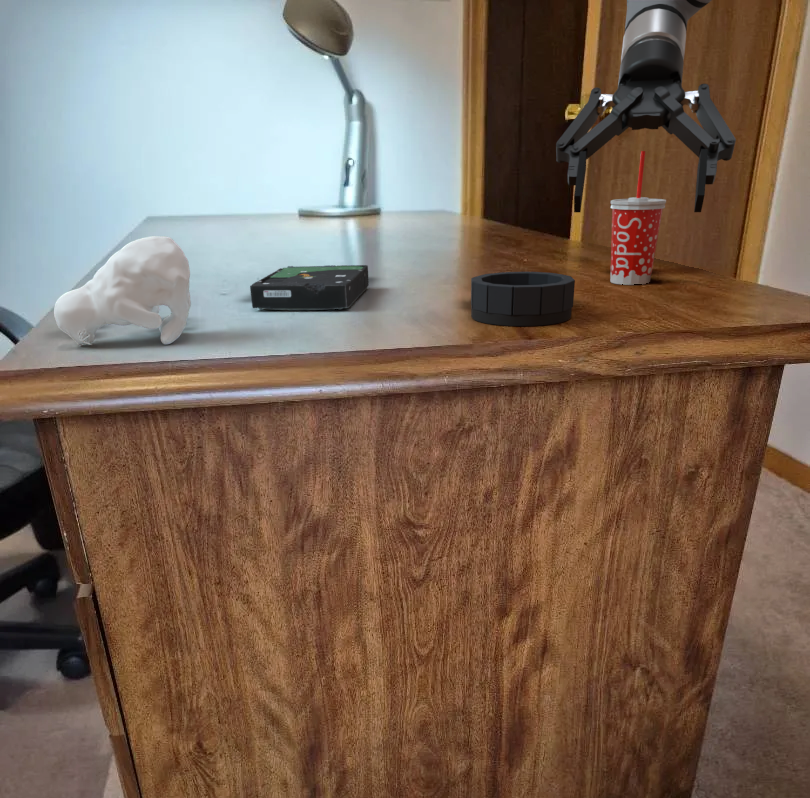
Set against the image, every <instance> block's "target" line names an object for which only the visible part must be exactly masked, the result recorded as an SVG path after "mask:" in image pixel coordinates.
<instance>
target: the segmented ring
mask: <svg viewBox="0 0 810 798" xmlns="http://www.w3.org/2000/svg"><path fill="white" fill-rule="evenodd" d="M575 285H576V279H574V278H573V277H572V276H571V275H567V274H561V273H555V272H543V271H502V272H491V273H484V274H480V275H477V276H472V277H471V278H470V309H471V311H470V317H471V319H472V320H474V321H475V322H479V323H482V324H486V325H493V326H504V327H542V326H550V325H556V324H561V323H564V322H567V321H569V320H570V319H571V318H572V311H573V310H572V309H573V308H574V301H575V299H574V298H575V287H576V286H575Z"/></svg>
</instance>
